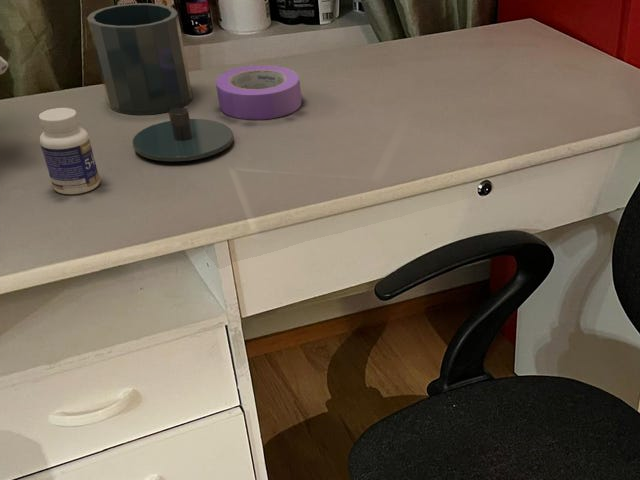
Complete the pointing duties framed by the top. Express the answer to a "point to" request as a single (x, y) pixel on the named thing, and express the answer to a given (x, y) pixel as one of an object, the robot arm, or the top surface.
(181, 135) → the canister lid
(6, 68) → the robot arm
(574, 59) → the top surface
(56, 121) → the pill bottle
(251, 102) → the tape roll
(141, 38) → the canister
